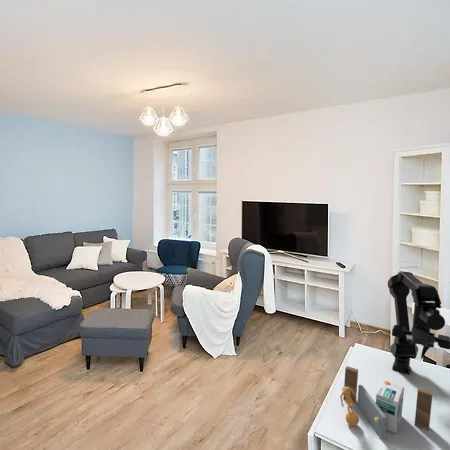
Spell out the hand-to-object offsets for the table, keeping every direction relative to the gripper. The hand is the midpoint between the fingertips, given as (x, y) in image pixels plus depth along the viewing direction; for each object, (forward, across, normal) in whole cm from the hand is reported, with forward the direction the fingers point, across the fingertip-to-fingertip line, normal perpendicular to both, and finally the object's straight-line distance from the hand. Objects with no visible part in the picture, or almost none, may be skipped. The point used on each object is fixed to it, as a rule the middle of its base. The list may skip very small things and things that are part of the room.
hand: (418, 357), depth 123 cm
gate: (+13, -12, -28) cm, 33 cm away
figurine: (+13, -17, -33) cm, 39 cm away
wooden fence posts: (+13, -8, -21) cm, 26 cm away
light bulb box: (+13, -6, -24) cm, 28 cm away
